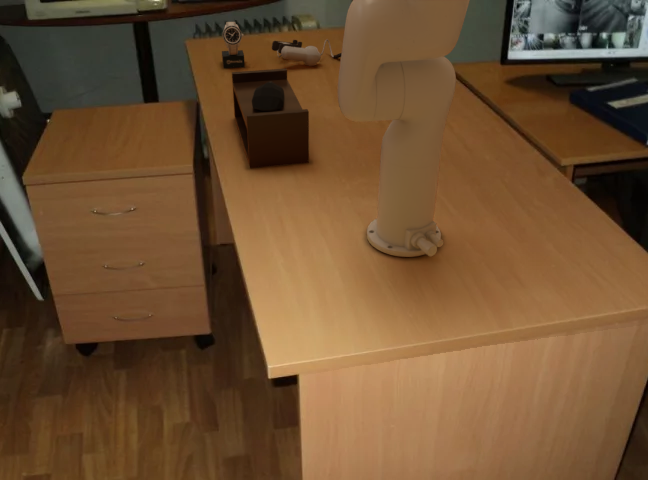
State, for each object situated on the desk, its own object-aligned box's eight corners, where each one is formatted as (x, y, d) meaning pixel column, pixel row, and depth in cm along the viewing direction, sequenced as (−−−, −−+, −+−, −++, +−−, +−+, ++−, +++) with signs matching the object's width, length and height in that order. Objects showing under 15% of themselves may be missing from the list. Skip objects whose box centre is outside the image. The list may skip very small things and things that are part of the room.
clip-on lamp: (330, 62, 205) (269, 54, 198) (334, 39, 202) (273, 30, 195) (345, 72, 195) (282, 64, 188) (350, 48, 193) (286, 38, 185)
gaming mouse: (288, 87, 157) (287, 68, 154) (281, 114, 145) (281, 95, 142) (259, 86, 157) (258, 68, 155) (250, 113, 145) (249, 94, 143)
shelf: (308, 162, 148) (308, 111, 141) (249, 168, 145) (246, 116, 139) (287, 115, 167) (286, 68, 161) (234, 119, 165) (231, 72, 158)
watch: (224, 71, 190) (221, 28, 184) (222, 60, 196) (219, 18, 190) (245, 69, 191) (243, 27, 184) (243, 59, 197) (240, 17, 191)
